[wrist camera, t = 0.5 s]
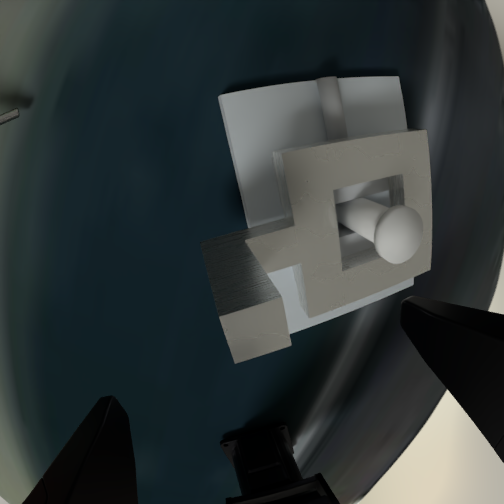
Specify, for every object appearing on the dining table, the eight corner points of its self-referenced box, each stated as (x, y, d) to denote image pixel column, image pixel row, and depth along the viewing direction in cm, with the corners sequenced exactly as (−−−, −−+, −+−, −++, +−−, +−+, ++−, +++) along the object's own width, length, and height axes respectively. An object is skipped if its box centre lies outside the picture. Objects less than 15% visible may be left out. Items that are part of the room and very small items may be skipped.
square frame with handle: (226, 328, 18) (256, 421, 11) (181, 174, 14) (185, 205, 8) (416, 261, 20) (489, 307, 13) (410, 128, 16) (503, 139, 10)
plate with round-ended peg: (406, 279, 24) (462, 320, 18) (272, 330, 22) (307, 398, 16) (389, 77, 18) (464, 68, 11) (218, 97, 16) (243, 73, 10)
